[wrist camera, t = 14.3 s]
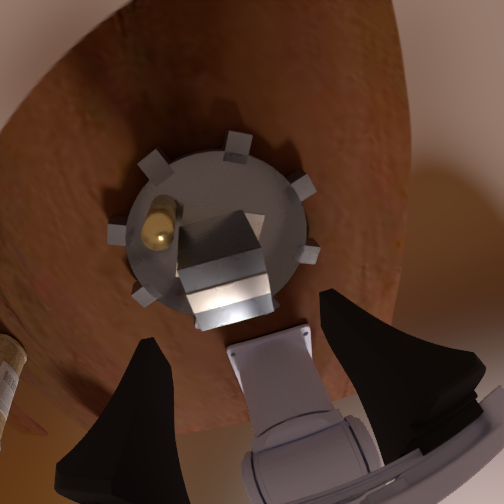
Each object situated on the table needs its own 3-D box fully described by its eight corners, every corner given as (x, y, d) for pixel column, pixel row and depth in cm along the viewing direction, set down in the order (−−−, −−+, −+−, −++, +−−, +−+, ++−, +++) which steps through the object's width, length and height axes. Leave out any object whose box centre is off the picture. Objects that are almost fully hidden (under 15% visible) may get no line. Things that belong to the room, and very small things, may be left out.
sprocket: (338, 154, 19) (383, 175, 14) (284, 319, 25) (305, 365, 20) (122, 116, 15) (94, 122, 10) (114, 308, 21) (103, 359, 16)
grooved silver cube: (254, 263, 20) (274, 312, 15) (197, 279, 19) (202, 332, 15) (242, 209, 18) (262, 248, 13) (178, 226, 17) (176, 271, 13)
